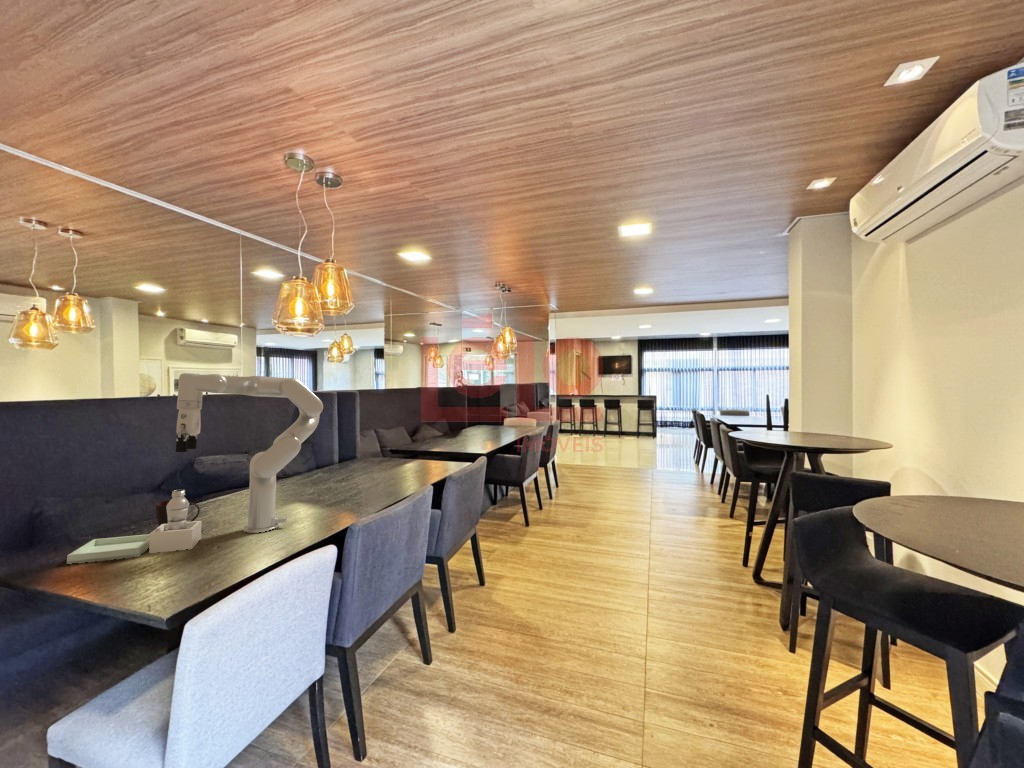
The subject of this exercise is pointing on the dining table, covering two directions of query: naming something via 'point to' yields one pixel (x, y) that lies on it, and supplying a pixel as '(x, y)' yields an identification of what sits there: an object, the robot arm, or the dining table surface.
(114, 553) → the tray
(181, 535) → the white storage bin
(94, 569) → the dining table surface
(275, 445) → the robot arm
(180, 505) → the plastic bottle
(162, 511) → the mug
